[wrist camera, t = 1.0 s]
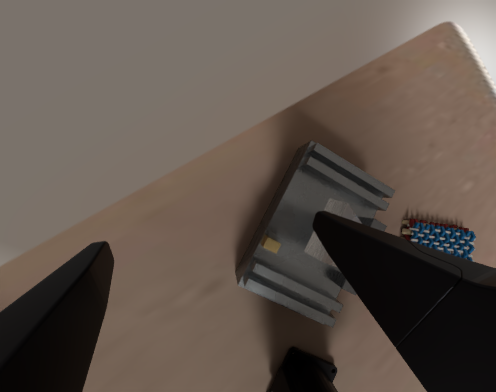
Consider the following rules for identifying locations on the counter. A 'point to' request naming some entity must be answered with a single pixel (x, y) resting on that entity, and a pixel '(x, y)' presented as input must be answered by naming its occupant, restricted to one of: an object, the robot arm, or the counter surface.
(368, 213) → the heat sink
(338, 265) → the robot arm
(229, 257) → the counter surface
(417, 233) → the woven mat
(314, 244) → the gray block
